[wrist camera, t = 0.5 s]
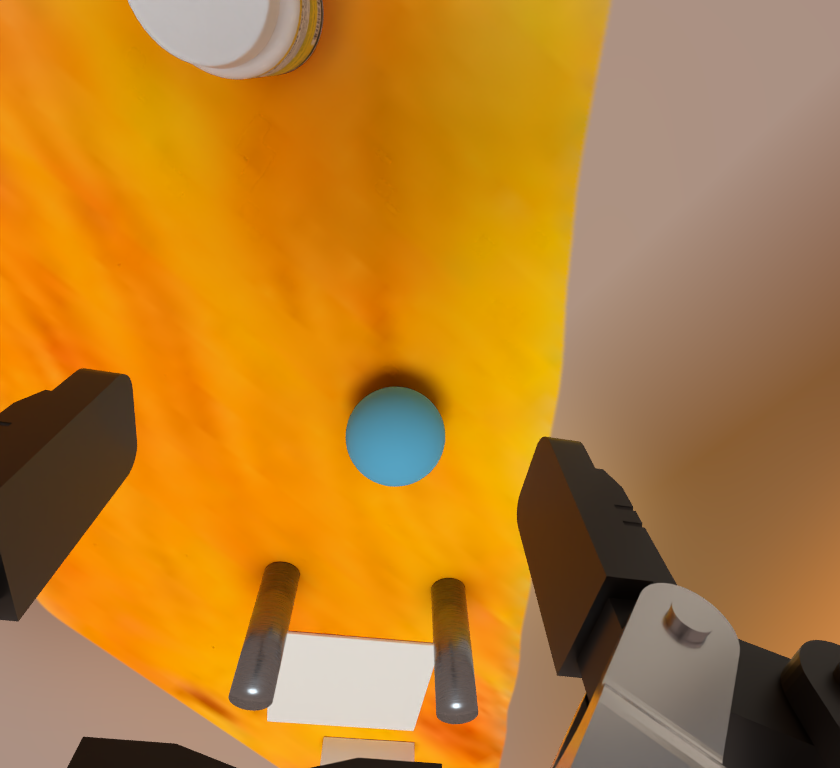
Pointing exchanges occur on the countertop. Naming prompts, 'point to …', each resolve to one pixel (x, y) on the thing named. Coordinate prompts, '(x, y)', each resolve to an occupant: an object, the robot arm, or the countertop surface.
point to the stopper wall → (364, 750)
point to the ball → (395, 436)
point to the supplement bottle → (235, 33)
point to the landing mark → (351, 681)
